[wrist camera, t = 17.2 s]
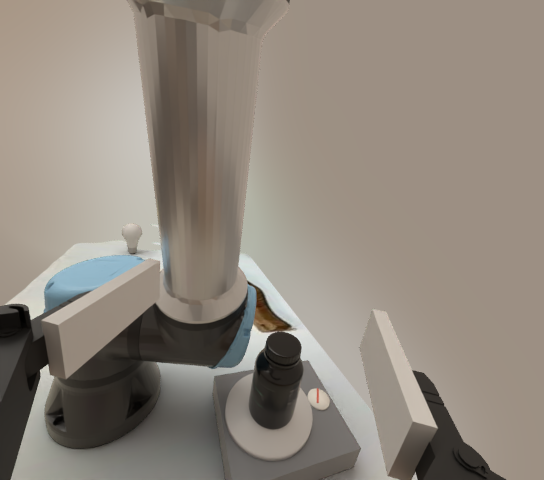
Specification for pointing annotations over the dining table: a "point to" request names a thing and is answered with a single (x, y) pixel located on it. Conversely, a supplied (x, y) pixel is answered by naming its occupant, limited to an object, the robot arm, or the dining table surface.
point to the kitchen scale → (282, 433)
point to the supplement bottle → (276, 381)
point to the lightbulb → (131, 236)
